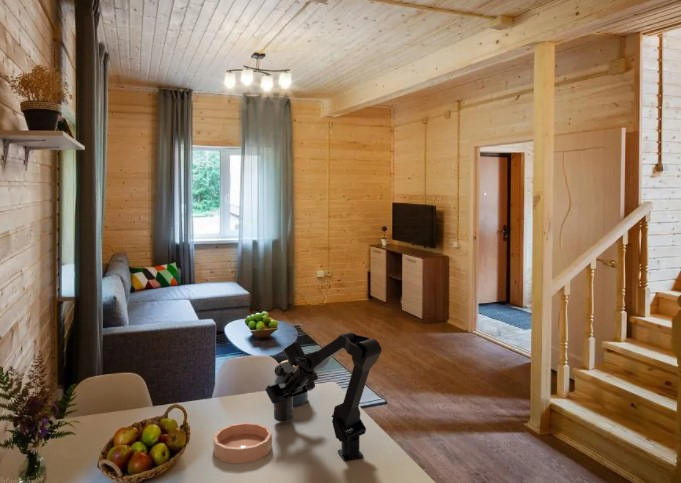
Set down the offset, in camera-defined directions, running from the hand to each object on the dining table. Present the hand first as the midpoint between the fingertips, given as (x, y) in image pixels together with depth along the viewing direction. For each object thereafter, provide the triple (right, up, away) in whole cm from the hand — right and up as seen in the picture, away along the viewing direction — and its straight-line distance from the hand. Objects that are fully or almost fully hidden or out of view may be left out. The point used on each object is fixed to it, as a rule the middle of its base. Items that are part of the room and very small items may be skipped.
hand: (280, 399), depth 191 cm
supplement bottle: (+1, -7, 0) cm, 7 cm away
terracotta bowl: (-10, -10, -19) cm, 24 cm away
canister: (+2, -7, +20) cm, 21 cm away
